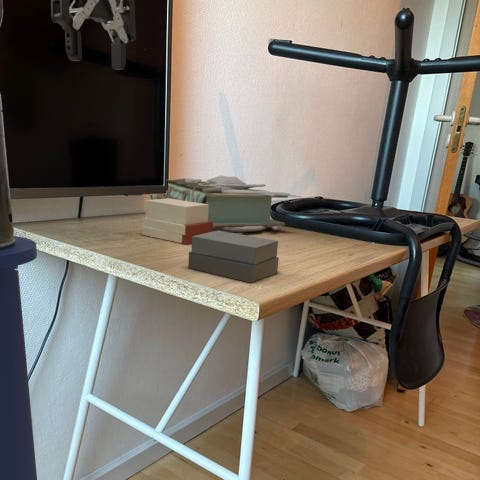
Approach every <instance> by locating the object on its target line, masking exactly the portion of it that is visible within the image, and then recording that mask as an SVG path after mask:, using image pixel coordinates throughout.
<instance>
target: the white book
mask: <svg viewBox="0 0 480 480" xmlns="http://www.w3.org/2000/svg"><path fill="white" fill-rule="evenodd" d="M208 207H209V205H208V204H202V203H196V202H189V201H183V200H176V199H170V198H167V199H155V200H151V199H145V217H146V218H150V219H155V220H161V221H166V222H172V223H177V224H182V225H191V224H197V223H204V222H208Z"/></svg>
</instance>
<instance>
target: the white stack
mask: <svg viewBox="0 0 480 480" xmlns="http://www.w3.org/2000/svg"><path fill="white" fill-rule="evenodd" d="M209 232H214V231H213V222H209V221H208V222H204V223H197V224H191V225H182V224H177V223H172V222H166V221H161V220H155V219H150V218H146V216H145V217H144V216H143V217H142V226H141V235H142V236H145V237H151V238H156V239H159V240H160V239H161V240H164V241H170V242H174V243H179V244H182V245H192V236H196V235H200V234H205V233H209Z"/></svg>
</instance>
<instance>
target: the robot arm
mask: <svg viewBox="0 0 480 480" xmlns="http://www.w3.org/2000/svg"><path fill="white" fill-rule="evenodd" d="M3 3H4V1H3V0H0V27H1V26H2V23H3V18H4V5H3ZM135 3H136V2H135V0H73V1H72V2H71V3H70V0H50V18H51V21H52V22H53V23H54V24H58V25H59V26H61V27H62V29H63V30H64V41H65V53H66V56H67V58H68V60H69V61H72V62H80V61H82V60H83V50H82V47H83V46H82V32H81V31H79V30H80V29H81V27H82V25H83V23H84V22H85V21H86V20H93V21H94V22H96V23H100V24H101V25H102V27H103V29H104V30H105V31H107V33H108V36H109V37H110V40H111V44H110V45H111V48H110V49H111V68H112V70H116V71H122V70H124V69H125V67H126V64H127V44H128V43H130V42H135V41H136V40H137V32H136V31H137V30H136V29H137V28H136V4H135ZM112 19H113V20H112ZM3 109H4V108H3V99H2V93H1V92H0V250H1V249H6V248H9V247H12V246H14V245H15V237H14V236H15V233H14V232H15V229H14V219H13V210H12V202H11V201H12V200H11V190H10V178H9V166H8V154H7V145H6V132H5V123H4V112H3Z"/></svg>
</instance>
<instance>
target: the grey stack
mask: <svg viewBox="0 0 480 480" xmlns="http://www.w3.org/2000/svg"><path fill="white" fill-rule="evenodd" d="M278 248H279V240H276V239H270V238H264V237H259V236H254V235H247V234H242V233H237V232H226V231H212V232H209V233H205V234H200V235H196V236H192V244H191V249H190V250H191V251H189V252H188V264H187V265H188V266H187V267H188V269H192V270H195V271H199V272H203V273H204V272H205V273H208V274H212V275H216V276H221V277H224V278H229V279H233V280H237V281H241V282H245V283H250V284H251V283H255V282H256V281H260V280H262V279H265V278H268V277H270V276H273V275H277V274H278V270H279V269H278V268H279V260H280V258H279V257H278Z"/></svg>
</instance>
